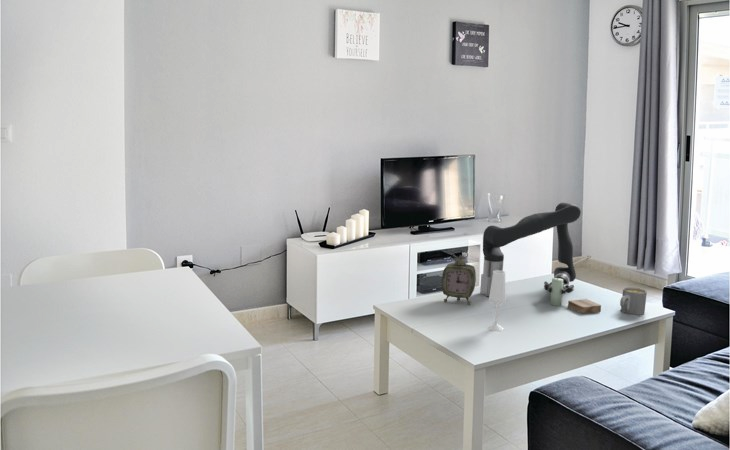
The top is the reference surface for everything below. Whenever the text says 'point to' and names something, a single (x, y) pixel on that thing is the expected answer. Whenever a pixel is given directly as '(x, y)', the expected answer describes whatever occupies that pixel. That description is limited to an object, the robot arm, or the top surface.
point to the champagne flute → (497, 295)
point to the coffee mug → (633, 300)
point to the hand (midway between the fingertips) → (556, 291)
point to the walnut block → (584, 306)
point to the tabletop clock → (458, 279)
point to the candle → (556, 292)
